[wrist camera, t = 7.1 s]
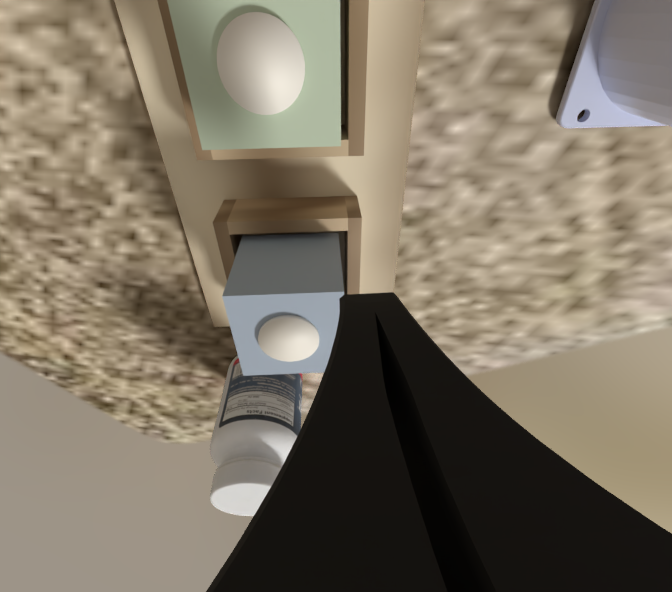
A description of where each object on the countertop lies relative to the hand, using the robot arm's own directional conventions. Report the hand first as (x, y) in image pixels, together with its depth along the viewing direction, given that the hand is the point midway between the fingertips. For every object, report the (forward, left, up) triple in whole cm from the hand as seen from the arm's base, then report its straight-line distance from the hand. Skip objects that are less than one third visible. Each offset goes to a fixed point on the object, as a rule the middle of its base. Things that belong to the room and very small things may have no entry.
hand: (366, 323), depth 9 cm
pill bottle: (+6, +14, -11) cm, 18 cm away
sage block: (+3, -5, -10) cm, 11 cm away
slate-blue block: (+3, +4, -8) cm, 9 cm away
